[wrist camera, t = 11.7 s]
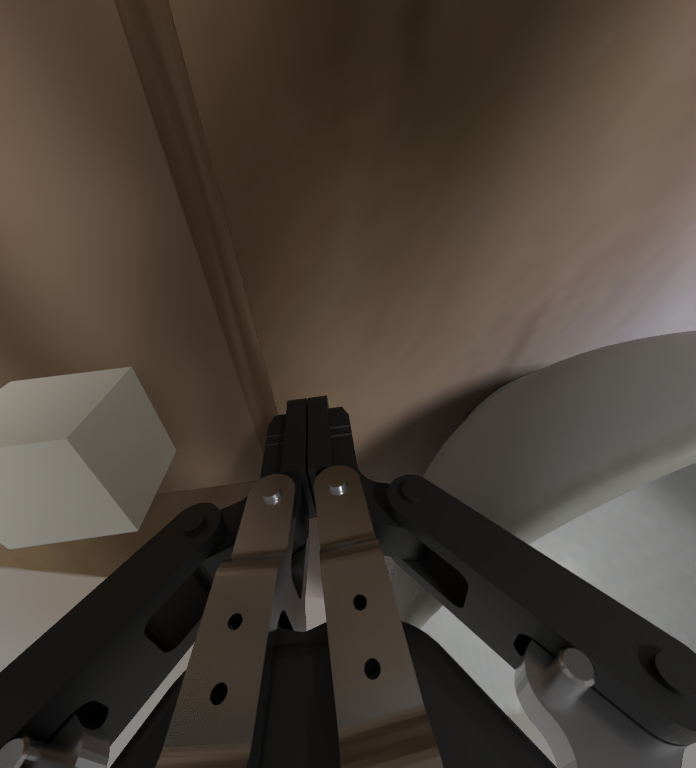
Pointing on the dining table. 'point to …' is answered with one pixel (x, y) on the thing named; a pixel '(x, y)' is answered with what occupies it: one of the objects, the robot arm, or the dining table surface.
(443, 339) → the dining table surface
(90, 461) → the off-white cube
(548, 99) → the dining table surface
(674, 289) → the dining table surface
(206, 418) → the walnut board
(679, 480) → the decorative bowl
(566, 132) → the dining table surface
